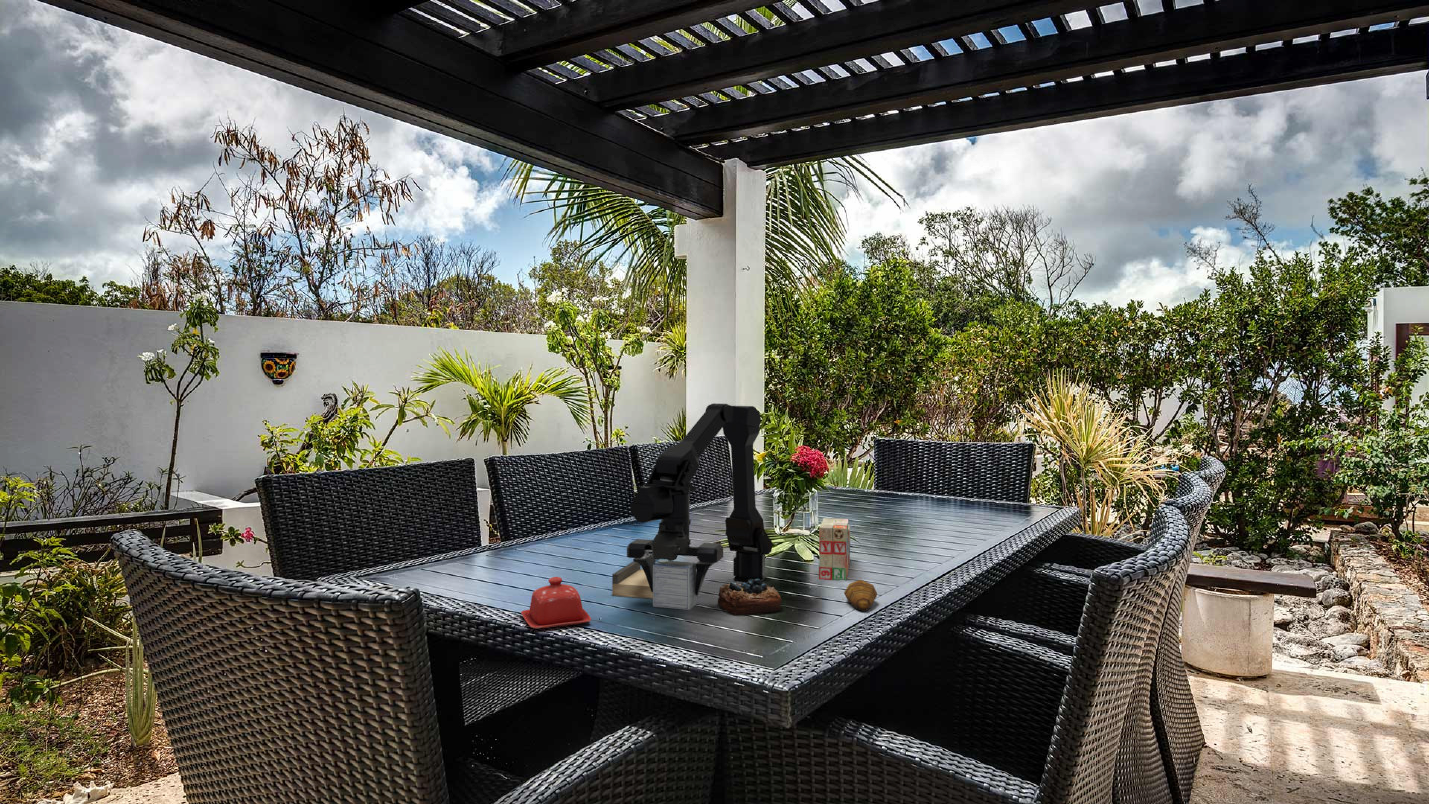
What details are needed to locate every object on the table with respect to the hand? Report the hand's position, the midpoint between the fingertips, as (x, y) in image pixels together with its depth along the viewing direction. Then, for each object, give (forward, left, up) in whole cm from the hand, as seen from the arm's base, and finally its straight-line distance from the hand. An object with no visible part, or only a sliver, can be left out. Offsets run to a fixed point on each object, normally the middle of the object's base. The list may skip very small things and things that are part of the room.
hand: (674, 593), depth 161 cm
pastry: (-15, -3, -3) cm, 15 cm away
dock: (+8, -11, -2) cm, 14 cm away
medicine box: (0, 0, -3) cm, 3 cm away
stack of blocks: (-28, -40, -3) cm, 49 cm away
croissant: (-36, -12, -3) cm, 38 cm away
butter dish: (+19, +16, -3) cm, 24 cm away
